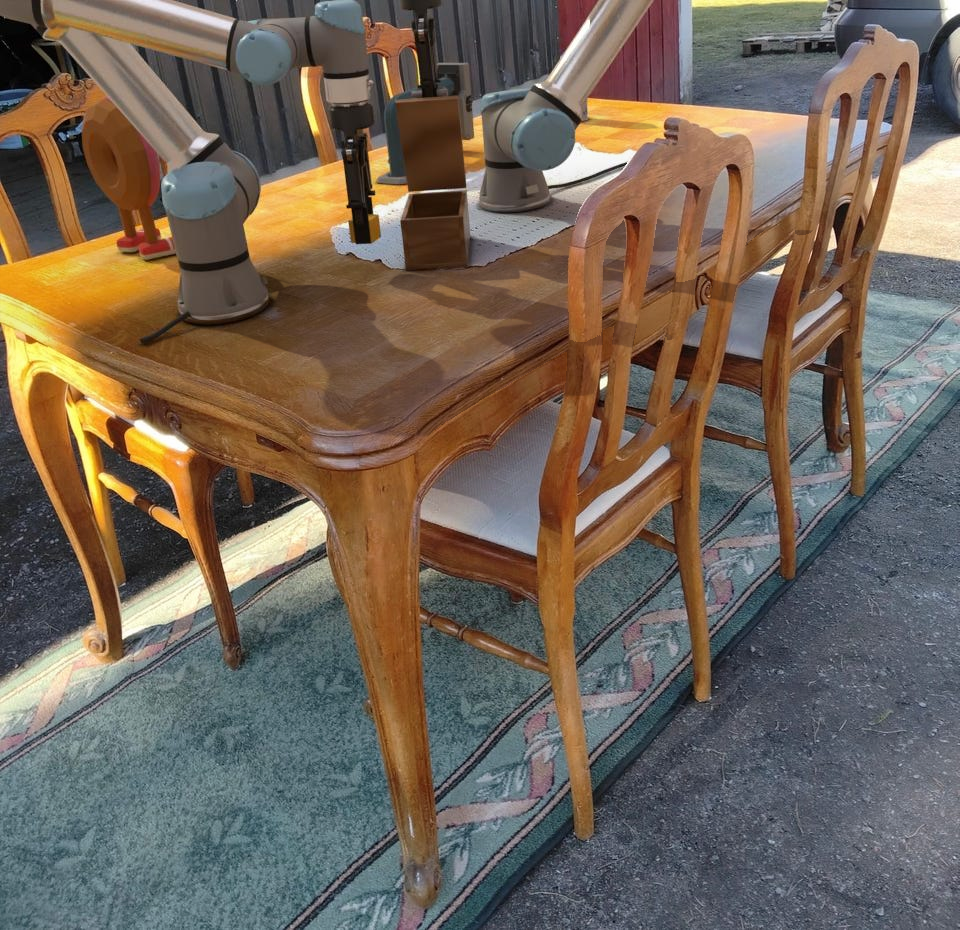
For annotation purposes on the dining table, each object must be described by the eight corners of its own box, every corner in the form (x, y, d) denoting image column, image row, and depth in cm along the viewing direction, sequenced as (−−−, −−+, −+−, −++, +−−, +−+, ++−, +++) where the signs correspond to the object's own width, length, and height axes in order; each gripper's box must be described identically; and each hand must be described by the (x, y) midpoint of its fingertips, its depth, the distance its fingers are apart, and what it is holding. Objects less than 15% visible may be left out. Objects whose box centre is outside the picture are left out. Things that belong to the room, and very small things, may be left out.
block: (371, 244, 172) (368, 221, 170) (350, 242, 173) (347, 220, 171) (381, 236, 175) (378, 214, 173) (360, 235, 176) (358, 213, 174)
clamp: (404, 184, 229) (393, 89, 218) (373, 182, 232) (361, 89, 222) (475, 149, 254) (468, 62, 243) (446, 148, 258) (439, 62, 247)
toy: (201, 251, 195) (166, 95, 180) (157, 266, 189) (116, 105, 173) (147, 235, 208) (109, 88, 193) (104, 248, 202) (61, 97, 187)
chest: (467, 266, 176) (463, 216, 171) (405, 270, 176) (400, 220, 172) (470, 236, 191) (466, 189, 186) (413, 240, 191) (408, 193, 187)
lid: (457, 98, 172) (458, 74, 178) (395, 102, 172) (398, 79, 178) (466, 188, 185) (467, 163, 191) (408, 192, 186) (410, 167, 192)
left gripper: (364, 112, 154) (380, 253, 166) (378, 91, 169) (392, 222, 181) (317, 114, 154) (336, 255, 166) (336, 93, 170) (352, 224, 182)
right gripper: (437, -15, 163) (450, 129, 175) (443, -22, 176) (455, 113, 188) (393, -11, 164) (409, 132, 176) (403, -19, 177) (417, 115, 189)
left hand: (365, 238), depth 174 cm, fingers closed on block, 5 cm apart
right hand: (433, 122), depth 182 cm, fingers closed on lid, 2 cm apart
